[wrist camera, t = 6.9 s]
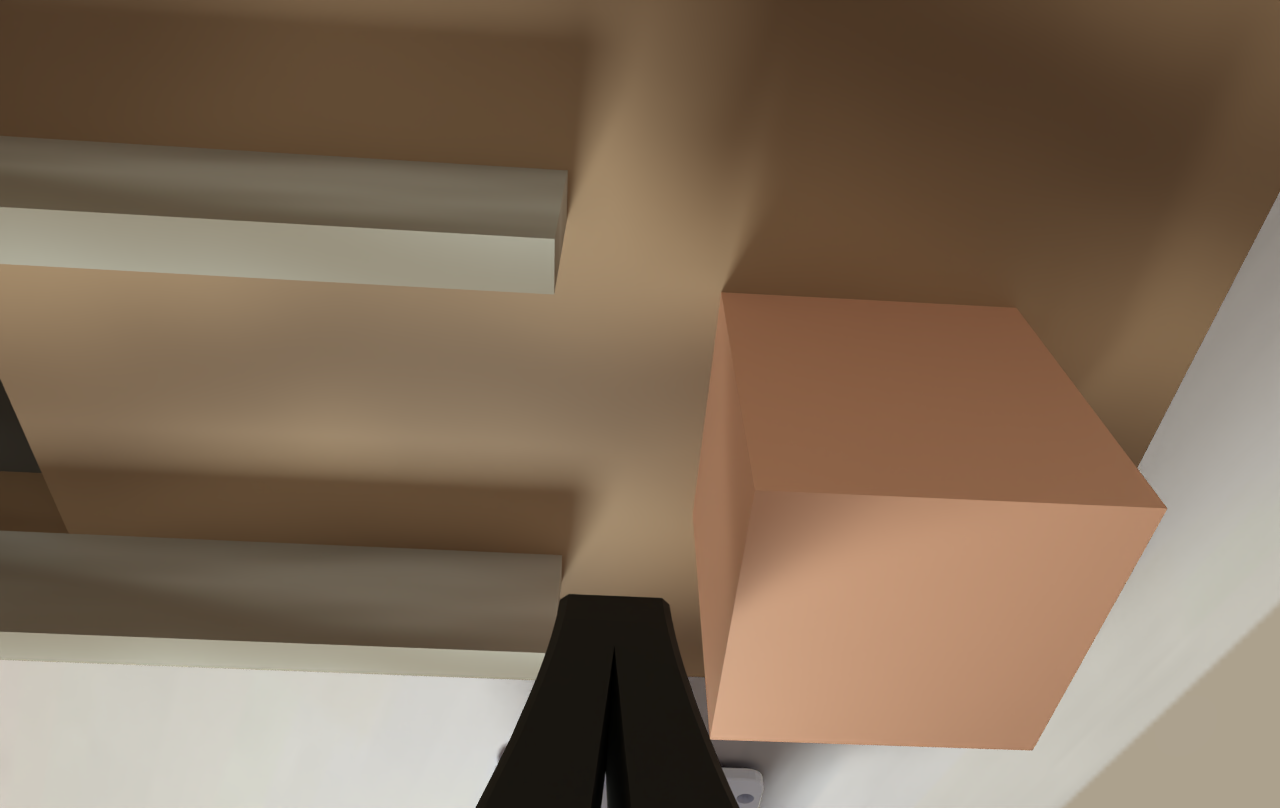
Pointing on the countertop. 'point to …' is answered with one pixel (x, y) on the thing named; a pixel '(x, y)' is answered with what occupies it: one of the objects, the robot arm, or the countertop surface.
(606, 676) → the robot arm
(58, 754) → the countertop surface
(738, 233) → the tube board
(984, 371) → the block
